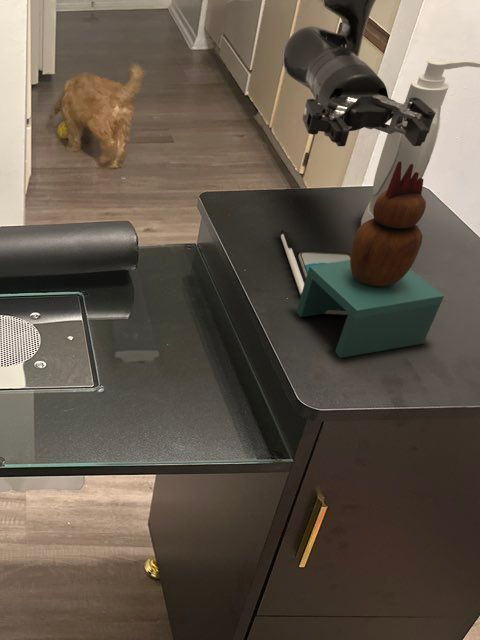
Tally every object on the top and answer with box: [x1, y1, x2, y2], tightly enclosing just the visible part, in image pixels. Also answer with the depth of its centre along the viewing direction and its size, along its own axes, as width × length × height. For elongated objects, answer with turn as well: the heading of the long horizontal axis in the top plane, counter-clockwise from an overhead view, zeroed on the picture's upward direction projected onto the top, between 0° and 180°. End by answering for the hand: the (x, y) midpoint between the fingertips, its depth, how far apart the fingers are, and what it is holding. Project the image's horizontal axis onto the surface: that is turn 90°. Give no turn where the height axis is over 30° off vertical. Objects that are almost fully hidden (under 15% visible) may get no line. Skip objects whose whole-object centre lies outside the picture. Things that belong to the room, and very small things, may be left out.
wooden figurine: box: [350, 161, 427, 287], centre depth 82 cm, size 7×6×15 cm
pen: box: [280, 229, 305, 296], centre depth 102 cm, size 1×19×1 cm, turn 171°
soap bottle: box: [360, 58, 480, 226], centre depth 101 cm, size 13×8×24 cm, turn 164°
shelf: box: [296, 260, 445, 359], centre depth 89 cm, size 11×10×7 cm
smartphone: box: [297, 251, 351, 316], centre depth 99 cm, size 7×1×15 cm
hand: (382, 138), depth 87 cm, fingers open, 8 cm apart
